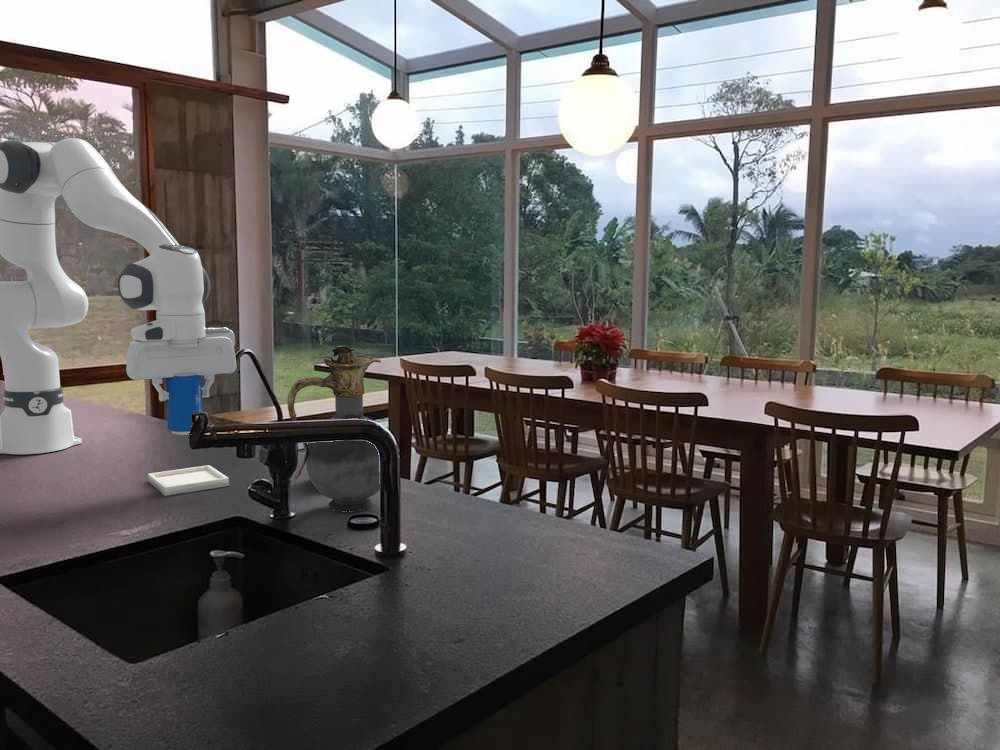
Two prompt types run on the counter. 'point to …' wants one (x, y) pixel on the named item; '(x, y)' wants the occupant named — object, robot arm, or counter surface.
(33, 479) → the counter surface
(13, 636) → the counter surface
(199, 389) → the beverage can
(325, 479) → the pitcher
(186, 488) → the tray
